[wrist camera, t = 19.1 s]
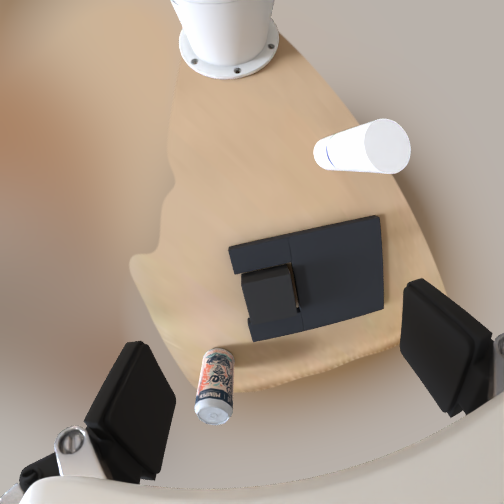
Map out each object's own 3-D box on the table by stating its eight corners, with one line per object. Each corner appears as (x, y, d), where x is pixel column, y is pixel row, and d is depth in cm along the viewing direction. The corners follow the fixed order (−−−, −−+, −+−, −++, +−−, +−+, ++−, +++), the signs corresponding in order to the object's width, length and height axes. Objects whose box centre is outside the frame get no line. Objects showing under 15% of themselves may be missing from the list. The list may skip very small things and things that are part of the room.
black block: (241, 273, 36) (241, 284, 33) (286, 263, 36) (290, 273, 32) (251, 312, 38) (252, 325, 34) (293, 303, 38) (297, 315, 34)
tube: (350, 146, 31) (416, 137, 17) (338, 175, 33) (400, 183, 18) (321, 131, 31) (374, 108, 17) (308, 161, 32) (355, 156, 18)
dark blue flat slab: (228, 246, 35) (228, 250, 33) (374, 215, 34) (379, 217, 33) (252, 336, 39) (253, 342, 38) (379, 304, 38) (383, 308, 37)
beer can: (236, 349, 40) (235, 407, 28) (231, 371, 41) (229, 429, 30) (205, 343, 39) (194, 401, 28) (202, 366, 41) (192, 423, 29)
